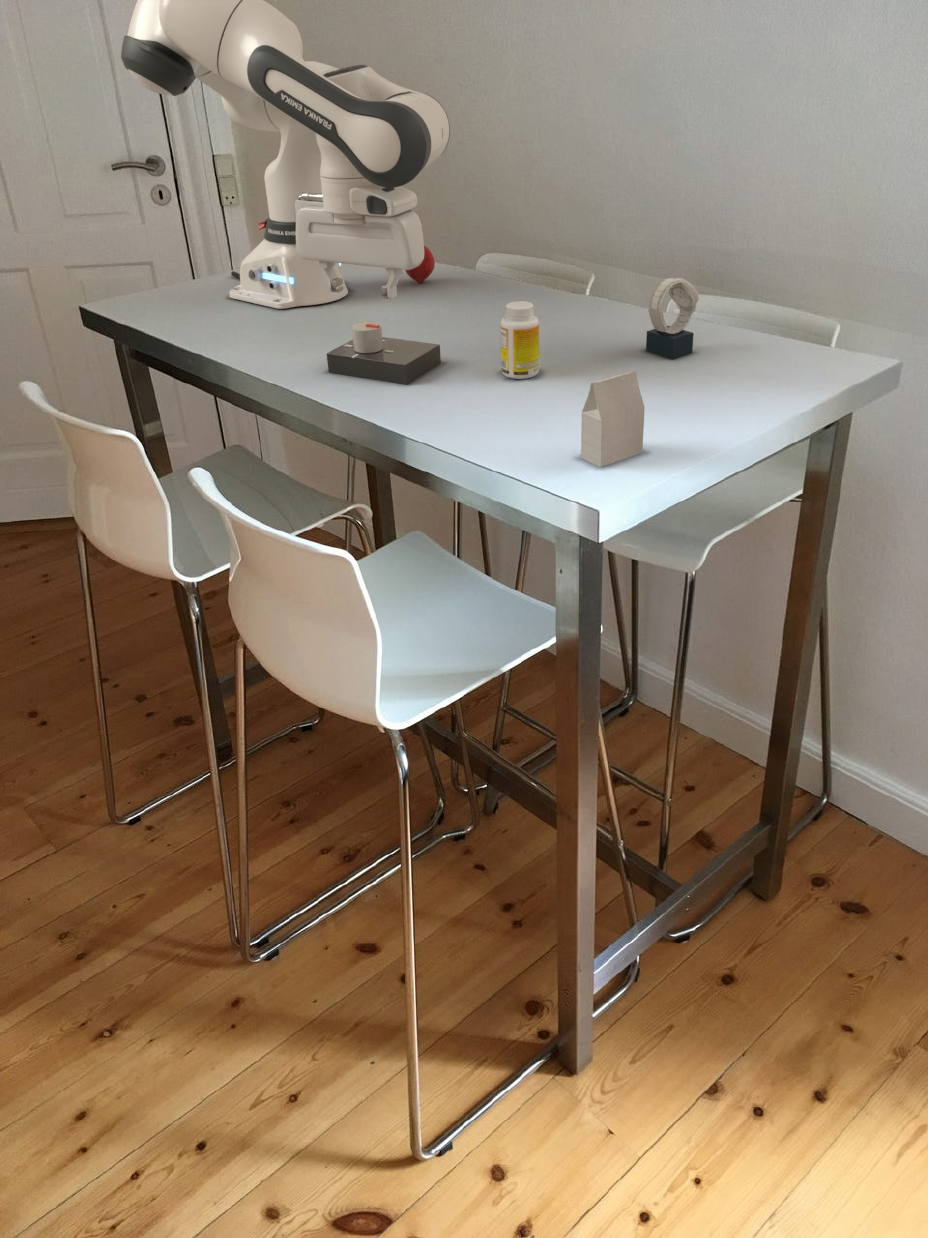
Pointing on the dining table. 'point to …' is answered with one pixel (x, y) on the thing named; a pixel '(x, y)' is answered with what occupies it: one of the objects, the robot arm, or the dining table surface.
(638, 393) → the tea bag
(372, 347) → the knob
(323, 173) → the robot arm
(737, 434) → the dining table surface
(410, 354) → the hob
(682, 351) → the watch
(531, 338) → the supplement bottle
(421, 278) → the onion
